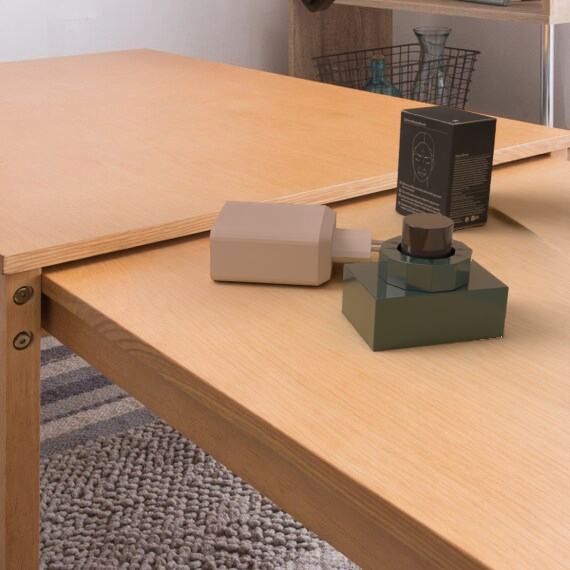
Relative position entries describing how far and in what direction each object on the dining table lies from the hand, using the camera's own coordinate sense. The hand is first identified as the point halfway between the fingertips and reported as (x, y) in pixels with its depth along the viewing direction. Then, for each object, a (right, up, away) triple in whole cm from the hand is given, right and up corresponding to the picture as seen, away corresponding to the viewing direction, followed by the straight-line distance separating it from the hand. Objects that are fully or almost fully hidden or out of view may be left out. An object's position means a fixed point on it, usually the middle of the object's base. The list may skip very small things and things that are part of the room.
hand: (327, 3), depth 65 cm
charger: (-1, -19, +14) cm, 23 cm away
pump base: (+7, -23, +4) cm, 24 cm away
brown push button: (+7, -17, +2) cm, 19 cm away
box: (+12, -13, +28) cm, 33 cm away
